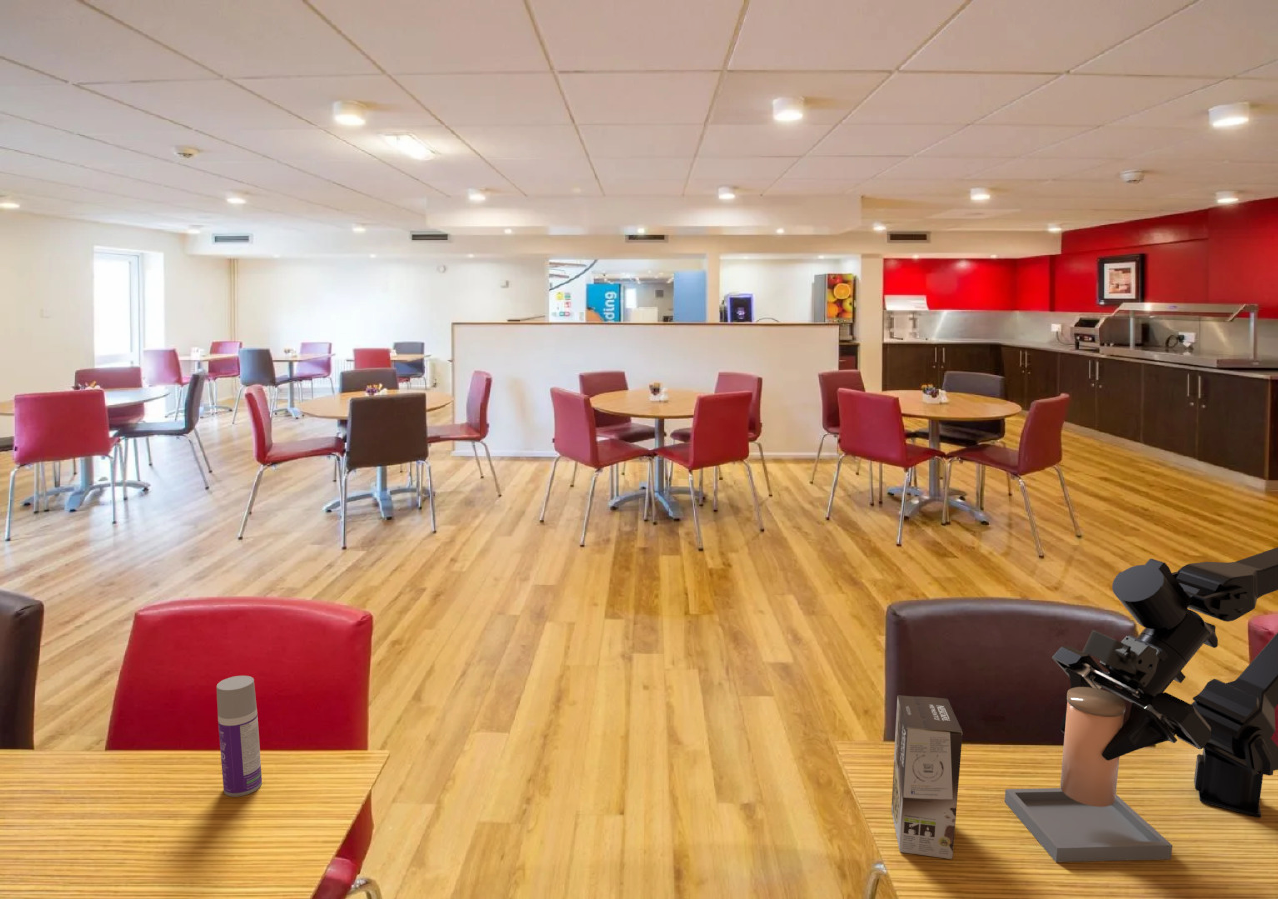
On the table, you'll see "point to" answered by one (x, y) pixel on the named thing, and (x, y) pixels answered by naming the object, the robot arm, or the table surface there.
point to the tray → (1086, 827)
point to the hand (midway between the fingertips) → (1082, 744)
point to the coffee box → (926, 775)
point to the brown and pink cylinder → (1091, 745)
